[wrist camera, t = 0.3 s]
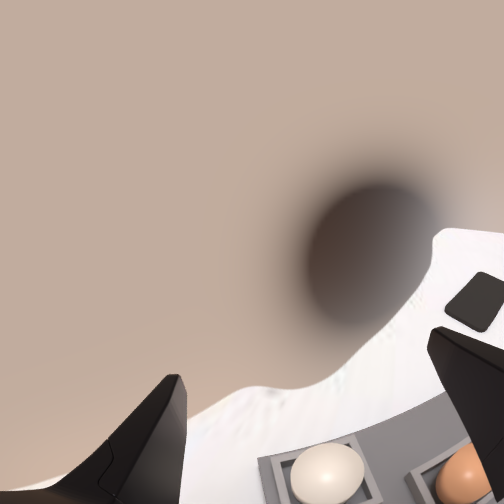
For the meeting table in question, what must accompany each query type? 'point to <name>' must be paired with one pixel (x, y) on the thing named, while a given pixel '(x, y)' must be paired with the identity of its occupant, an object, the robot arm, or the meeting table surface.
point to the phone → (477, 302)
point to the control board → (388, 458)
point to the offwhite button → (326, 474)
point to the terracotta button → (462, 478)
